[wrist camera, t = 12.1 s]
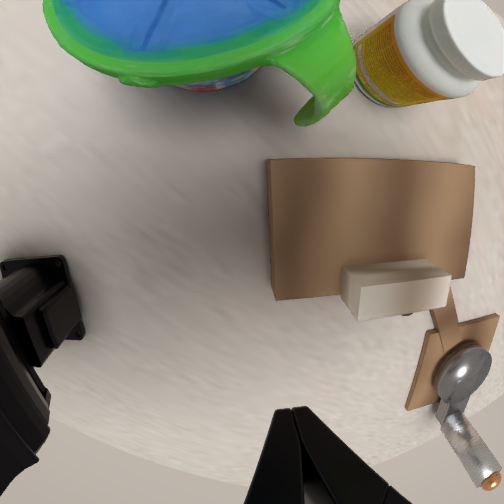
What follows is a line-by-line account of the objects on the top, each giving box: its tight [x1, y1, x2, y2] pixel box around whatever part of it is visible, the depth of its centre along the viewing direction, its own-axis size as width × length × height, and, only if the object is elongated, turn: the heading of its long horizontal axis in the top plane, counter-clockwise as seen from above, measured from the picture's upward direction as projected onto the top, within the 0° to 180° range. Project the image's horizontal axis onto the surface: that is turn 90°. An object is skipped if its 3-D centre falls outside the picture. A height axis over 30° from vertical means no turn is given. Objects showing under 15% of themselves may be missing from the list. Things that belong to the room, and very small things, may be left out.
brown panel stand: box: [266, 158, 500, 411], centre depth 19 cm, size 22×22×5 cm
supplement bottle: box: [353, 0, 504, 107], centre depth 12 cm, size 5×5×10 cm
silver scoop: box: [434, 342, 502, 491], centre depth 18 cm, size 10×6×11 cm, turn 8°
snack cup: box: [43, 0, 356, 126], centre depth 11 cm, size 16×10×10 cm
